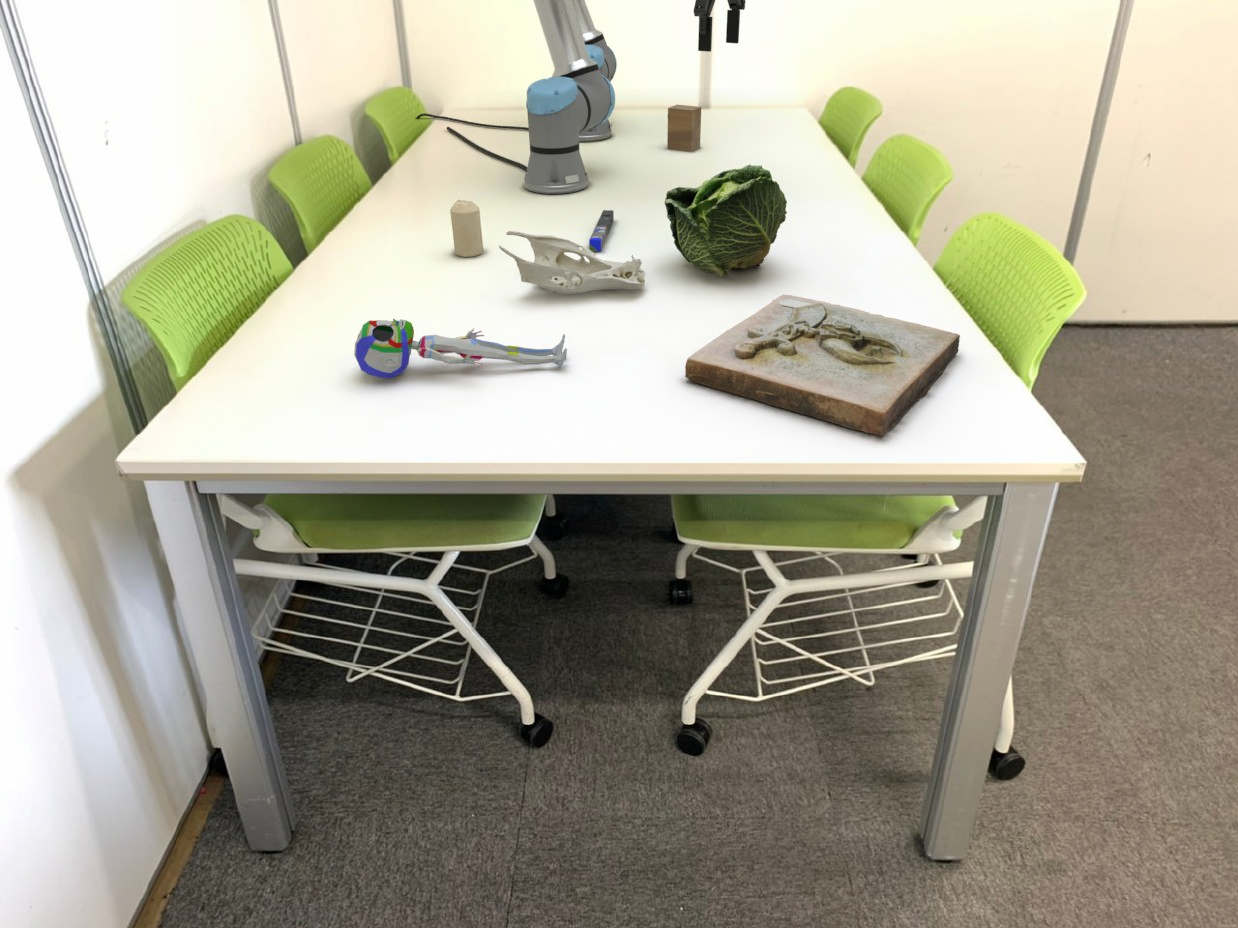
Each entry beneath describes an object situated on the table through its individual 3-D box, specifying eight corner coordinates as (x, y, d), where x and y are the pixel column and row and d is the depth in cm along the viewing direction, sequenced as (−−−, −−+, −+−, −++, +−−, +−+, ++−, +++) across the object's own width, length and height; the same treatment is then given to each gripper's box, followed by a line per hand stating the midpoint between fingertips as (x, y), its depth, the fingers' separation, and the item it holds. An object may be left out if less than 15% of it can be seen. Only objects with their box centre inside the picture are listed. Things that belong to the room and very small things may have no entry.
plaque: (892, 390, 109) (684, 332, 124) (883, 441, 113) (682, 379, 127) (971, 312, 130) (784, 271, 145) (961, 357, 134) (780, 312, 148)
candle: (488, 249, 176) (483, 198, 171) (475, 258, 172) (470, 206, 167) (463, 246, 178) (457, 196, 173) (450, 255, 174) (443, 204, 168)
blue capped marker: (613, 210, 190) (600, 241, 173) (613, 220, 191) (600, 251, 174) (603, 210, 190) (589, 240, 173) (603, 220, 191) (589, 251, 174)
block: (691, 152, 242) (692, 110, 236) (667, 149, 245) (667, 108, 240) (700, 148, 246) (701, 107, 240) (676, 145, 249) (676, 104, 243)
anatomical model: (512, 224, 162) (649, 224, 158) (517, 273, 167) (650, 274, 163) (490, 252, 149) (637, 253, 146) (496, 304, 154) (639, 306, 151)
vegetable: (694, 294, 173) (643, 202, 166) (775, 239, 175) (728, 145, 167) (734, 307, 155) (678, 205, 147) (824, 245, 156) (773, 141, 149)
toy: (569, 347, 126) (349, 329, 122) (563, 400, 131) (350, 385, 126) (565, 318, 135) (359, 301, 130) (559, 369, 139) (360, 354, 134)
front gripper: (713, -65, 172) (708, 56, 183) (765, -69, 190) (758, 40, 201) (678, -65, 175) (676, 53, 187) (732, -69, 193) (727, 39, 204)
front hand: (718, 47), depth 194 cm, fingers open, 13 cm apart
